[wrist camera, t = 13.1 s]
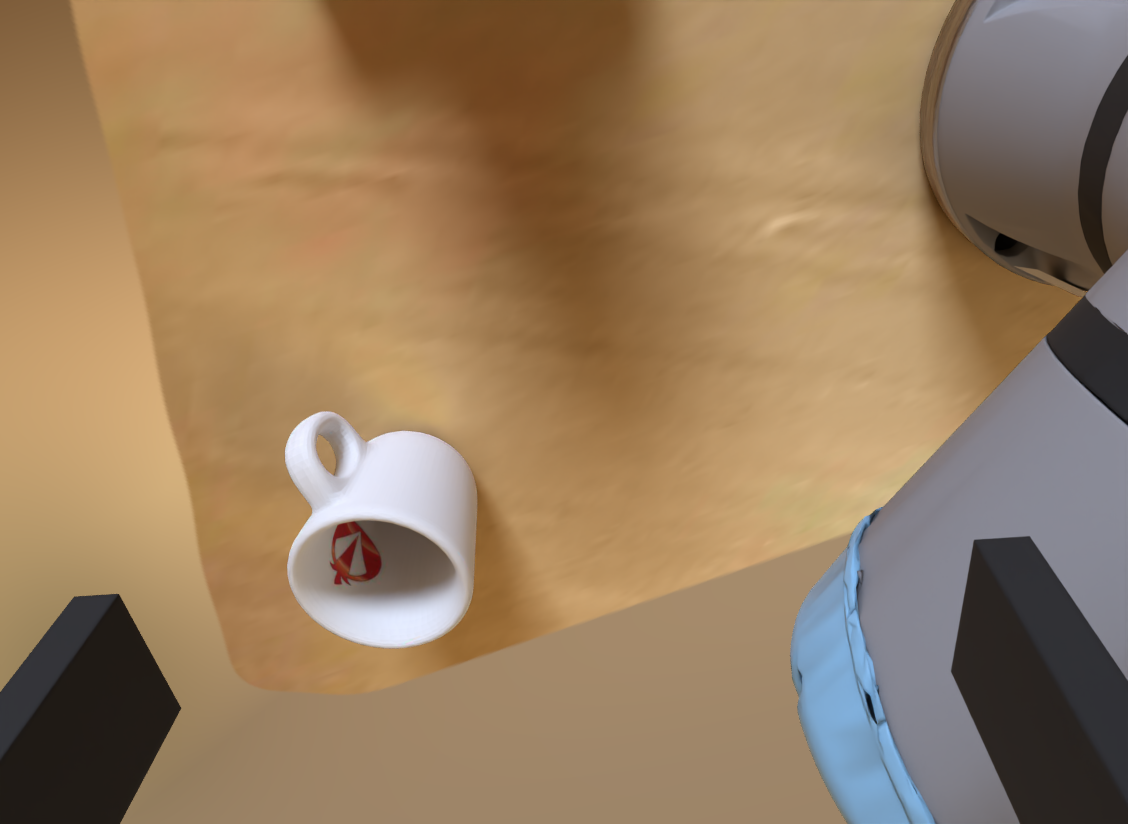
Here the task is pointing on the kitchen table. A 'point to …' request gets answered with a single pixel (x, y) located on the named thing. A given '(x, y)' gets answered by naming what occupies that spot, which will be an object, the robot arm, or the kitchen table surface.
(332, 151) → the kitchen table surface
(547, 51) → the kitchen table surface
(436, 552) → the cup
